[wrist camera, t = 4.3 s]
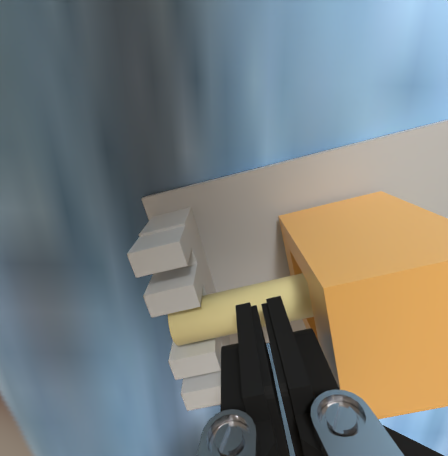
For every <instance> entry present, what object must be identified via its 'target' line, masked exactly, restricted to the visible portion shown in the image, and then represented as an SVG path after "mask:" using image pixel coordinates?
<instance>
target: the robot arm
mask: <svg viewBox="0 0 448 456" xmlns="http://www.w3.org/2000/svg"><path fill="white" fill-rule="evenodd" d="M266 301H267V303H264V304H261V306H262V310H263V315H264V319H265V324H266V329H267V333H268V338H269V342H270V347H271V351H272V356H273V361H274V365H275V370H276V374H277V379H278V383H279V388H280V392H281V396H282V401H283V405H284V409H285V413H286V418H287V422H288V426H289V430H290V434H291V439H292V443H293V447H294V451H295V455H296V456H444V455H442V454H440V453H438V452H436V451H434V450H432V449H430V448H428V447H426V446H424V445H422V444H420V443H418V442H416V441H414V440H412V439H410V438H408V437H406V436H404V435H402V434H400V433H398V432H396V431H394V430H391V429H389V428H387V427H385V426H383V425H382V424H381V423H380V421H379V420H378V418H377V417H376V416H375V414H374V413H373V411H372V410H371V409H370V407H369V406H368V405H367V404H366V402H365V401H364V400H363V399H362V398H360V397H359V396H357V395H356V394H354V393H351V392H348V391H345V390H340V389H339V387H338V385H337V382H336V380H335V378H334V376H333V373H332V371H331V369H330V367H329V364H328V362H327V360H326V358H325V355H324V353H323V351H322V349H321V346H320V344H319V342H318V340H317V337H316V335H315V333H314V331H313V329H312V328H309V329H304V330H299V331H294V332H293V330H292V327H291V325H290V322H289V319H288V316H287V313H286V310H285V307H284V304H283V301H282V298H281V296H277V297H272V298H268V299H266ZM235 307H236V321H237V334H238V343H236V344H231V345H226V346H222V347H221V412H220V413H218V414H216V415H215V416H213V417H212V418H211V419H210V420H209V421H208V422H207V424H206V425H205V427H204V429H203V432H202V434H201V438H200V443H199V447H198V452H197V456H290V454H289V449H288V445H287V440H286V435H285V430H284V425H283V420H282V415H281V410H280V406H279V401H278V396H277V391H276V386H275V381H274V376H273V372H272V367H271V363H270V359H269V354H268V350H267V346H266V342H265V338H264V334H263V330H262V325H261V321H260V317H259V313H258V309H257V305H254V306H251V304H250V302H249V303H244V304H239V305H236V306H235Z"/></svg>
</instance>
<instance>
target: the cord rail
mask: <svg viewBox="0 0 448 456" xmlns="http://www.w3.org/2000/svg"><path fill="white" fill-rule="evenodd" d="M379 191H382V192H385V193H387V194H390V195H392V196H394V197H397V198H399V199H402V200H404V201H407V202H409V203H411V204H414V205H416V206H419V207H421V208H423V209H426V210H428V211H431V212H433V213H436V214H438V215H440V216H443V217H445V218H448V120H444V121H440V122H436V123H432V124H428V125H424V126H420V127H416V128H412V129H408V130H404V131H400V132H397V133H393V134H389V135H385V136H381V137H377V138H373V139H369V140H365V141H361V142H357V143H353V144H349V145H345V146H341V147H338V148H334V149H330V150H326V151H322V152H318V153H314V154H310V155H306V156H302V157H298V158H294V159H290V160H286V161H282V162H279V163H275V164H271V165H267V166H263V167H259V168H255V169H251V170H247V171H243V172H239V173H235V174H231V175H227V176H223V177H220V178H216V179H212V180H208V181H204V182H200V183H196V184H192V185H188V186H184V187H180V188H176V189H172V190H168V191H164V192H161V193H157V194H153V195H149V196H145V197H143V198H142V202H143V205H144V208H145V211H146V214H147V216H148V219H149V222H148V223H147V224H146V226H145V227H144V228H143V230H142V231H141V232H140V234H139V238H138V239H137V241H136V242H135V244H134V245H133V246H132V248H131V249H130V250H129V252H128V253H127V256H128V258H129V261H130V264H131V266H132V269H133V271H134V274H135V277H136V278H138V277H142V276H146V275H150V274H153V275H152V278H151V280H150V282H149V284H148V286H147V288H146V291H145V293H144V295H143V297H144V300H145V302H146V305H147V308H148V310H149V313H150V315H151V318H152V317H157V316H161V315H166V314H168V323H169V329H170V333H171V336H172V339H173V343H172V347H171V352H170V356H169V361H168V362H169V365H170V367H171V370H172V372H173V375H174V378H175V380H177V379H182V378H183V383H182V390H181V396H182V398H183V401H184V403H185V406H186V409H187V411H189V410H194V409H199V408H204V407H210V406H215V405H220V404H221V347H222V346H226V345H231V344H236V343H238V334H237V321H236V307H235V306H236V305H239V304H244V303H249V302H250V304H251V306H254V305H257V309H258V313H259V317H260V321H261V325H262V330H263V334H264V338H265V342H266V343H270V342H269V338H268V333H267V329H266V324H265V319H264V315H263V310H262V306H261V304H264V303H267V301H266V299H268V298H272V297H277V296H281V298H282V301H283V304H284V307H285V310H286V313H287V316H288V319H289V322H290V325H291V327H292V330H293V332H294V331H299V330H304V329H306V327H305V324H304V322H303V319H305V318H310V317H314V315H313V309H312V304H311V299H310V293H309V288H308V282H307V280H306V278H305V277H304V275H303V273H301V274H296V275H292V276H290V271H289V266H288V261H287V256H286V251H285V246H284V241H283V236H282V231H281V226H280V222H279V217H278V216H280V215H284V214H288V213H292V212H296V211H300V210H304V209H309V208H313V207H317V206H321V205H325V204H329V203H333V202H338V201H342V200H346V199H350V198H354V197H358V196H362V195H367V194H371V193H375V192H379Z"/></svg>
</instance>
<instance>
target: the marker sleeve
mask: <svg viewBox="0 0 448 456" xmlns="http://www.w3.org/2000/svg"><path fill="white" fill-rule="evenodd" d="M278 217H279V222H280V226H281V231H282V236H283V241H284V246H285V251H286V256H287V261H288V266H289V271H290V276H292V275H296V274H301V273H303V275H304V277H305V278H306V280H307V282H308V288H309V293H310V299H311V304H312V309H313V315H314V317H310V318H305V319H303V322H304V324H305V327H306V329H309V328H312V329H313V331H314V333H315V335H316V337H317V340H318V342H319V344H320V346H321V349H322V351H323V353H324V355H325V358H326V360H327V362H328V364H329V367H330V369H331V371H332V373H333V376H334V378H335V380H336V382H337V385H338V387H339V389H340V390H345V391H348V392H351V393H354V394H356V395H357V396H359V397H360V398H362V399H363V400H364V401H365V402H366V404H367V405H368V406H369V407H370V409H371V410H372V411H373V413H374V414H375V416H376V417H377V418H378V419H382V418H387V417H393V416H398V415H403V414H409V413H414V412H419V411H425V410H430V409H435V408H441V407H446V406H448V218H445V217H443V216H440V215H438V214H436V213H433V212H431V211H428V210H426V209H423V208H421V207H419V206H416V205H414V204H411V203H409V202H407V201H404V200H402V199H399V198H397V197H394V196H392V195H390V194H387V193H385V192H382V191H379V192H375V193H371V194H367V195H362V196H358V197H354V198H350V199H346V200H342V201H338V202H333V203H329V204H325V205H321V206H317V207H313V208H309V209H304V210H300V211H296V212H292V213H288V214H284V215H280V216H278Z"/></svg>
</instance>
